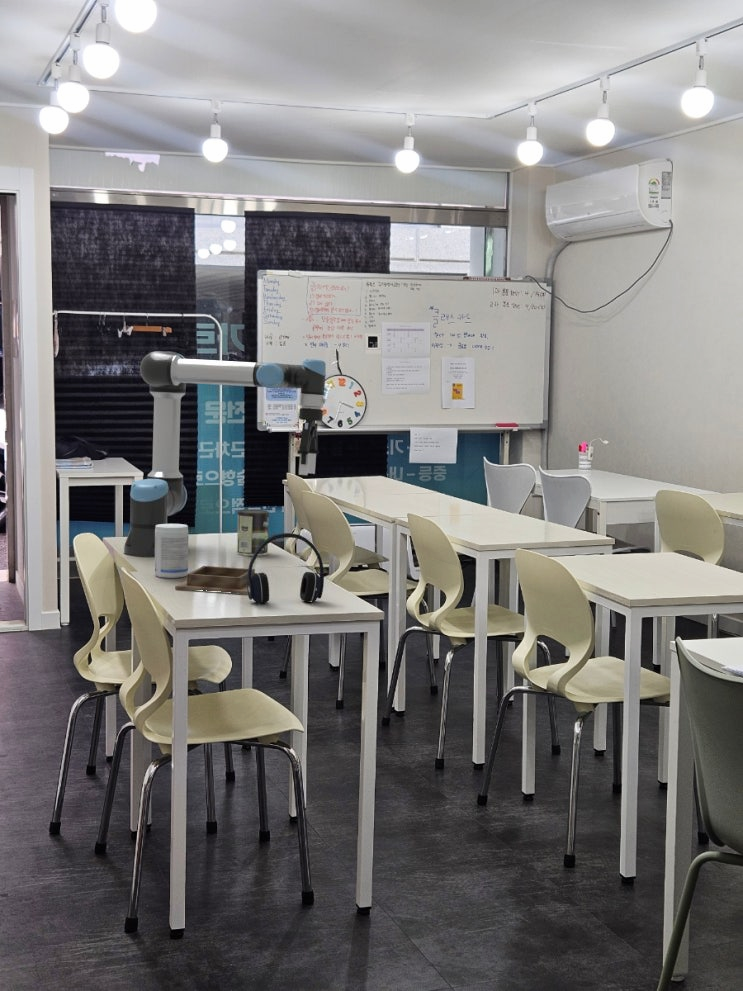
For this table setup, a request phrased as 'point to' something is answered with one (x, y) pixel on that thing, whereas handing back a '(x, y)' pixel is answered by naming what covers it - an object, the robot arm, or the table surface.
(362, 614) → the table surface
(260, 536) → the coffee can
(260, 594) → the headphones
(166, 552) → the supplement tub
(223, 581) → the tray
